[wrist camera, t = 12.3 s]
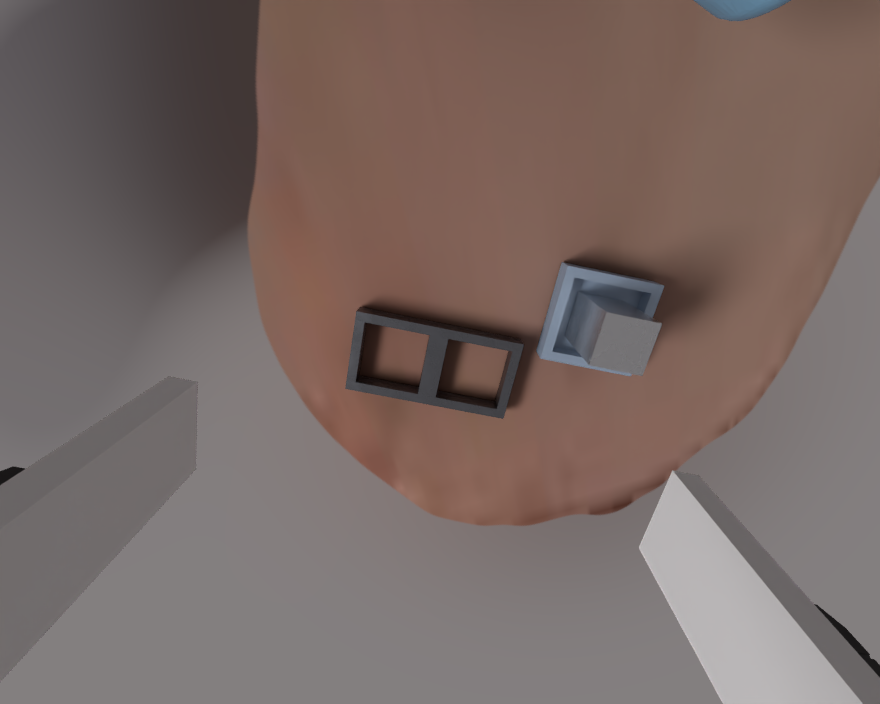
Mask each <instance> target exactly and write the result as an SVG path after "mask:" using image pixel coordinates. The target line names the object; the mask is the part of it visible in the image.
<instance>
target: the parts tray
mask: <svg viewBox="0 0 880 704" xmlns="http://www.w3.org/2000/svg"><path fill="white" fill-rule="evenodd" d="M663 289H664V285H661V284H659V283H657V282H654V281H650V280H645V279H640V278H636V277H631V276H626V275H621V274H617V273H612V272H607V271H602V270H598V269H593V268H588V267H583V266H578V265H574V264H569V263H564V262H562V264H561V267H560V271H559V274H558V277H557V281H556V284H555V288H554V291H553V295H552V298H551V301H550V305H549V308H548V312H547V315H546V319H545V322H544V326H543V329H542V332H541V336H540V339H539V343H538V346H537V350H536V351H537V353H538V355H539V357H540V358H541V359H545V360H551V361H556V362H561V363H566V364H571V365H576V366H581V367H586V368H591V369H596V370H601V371H606V372H611V373H616V374H621V375H626V376H631V374H630V373H625V372H620V371H615V370H610V369H605V368H600V367H595V366H590V365H588V364H587V362H586V361H585V360H584V359H583V358H582V356H581V355H580V354H579V353H578V352H577V350H576V349H575V348H574V347H573V346H572V344H571V343H570V342H569V341H568V340H567V338H566V337H565V336H564V335H565V332H566V328H567V325H568V322H569V319H570V316H571V312H572V309H573V306H574V303H575V299H576V296H577V293H578V291H580V292H585V293H590V294H595V295H599V296H604V297H609V298H614V299H619V300H624V301H625V302H627V303H629V304H630V305H632V306H634V307H635V308H637V309H639V310H640V311H642V312H644V313H645V314H647V315H649V316H650V317H652V318H653V316H654V313H655V310H656V307H657V305H658V302H659V299H660V297H661V294H662V291H663Z"/></svg>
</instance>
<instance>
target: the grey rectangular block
mask: <svg viewBox="0 0 880 704" xmlns="http://www.w3.org/2000/svg"><path fill="white" fill-rule="evenodd" d="M661 326H662V323H660V322H659V321H657V320H655V319H654V318H652V317H650V316H649V315H647V314H645V313H644V312H642V311H640V310H639V309H637V308H635V307H634V306H632V305H630V304H629V303H627V302H625V301H624V300H619V299H614V298H609V297H604V296H599V295H595V294H590V293H585V292H580V291H578V293H577V296H576V299H575V303H574V306H573V309H572V312H571V316H570V319H569V322H568V325H567V328H566V332H565V335H564V336H565V337H566V338H567V340H568V341H569V342H570V343H571V344H572V346H573V347H574V348H575V349H576V350H577V352H578V353H579V354H580V355H581V356H582V358H583V359H584V360H585V361H586V362H587V364H588V365H590V366H595V367H600V368H605V369H610V370H615V371H620V372H625V373H630V374H635V375H640V376H642V375H643V373H644V370H645V367H646V365H647V362H648V360H649V357H650V354H651V352H652V349H653V347H654V344H655V341H656V339H657V336H658V333H659V331H660V328H661Z"/></svg>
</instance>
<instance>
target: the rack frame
mask: <svg viewBox="0 0 880 704" xmlns="http://www.w3.org/2000/svg"><path fill="white" fill-rule="evenodd" d="M367 323H371V324H376V325H381V326H386V327H391V328H396V329H401V330H406V331H411V332H416V333H422V334H427V335H429V340H428V345H427V350H426V355H425V360H424V365H423V370H422V375H421V379H420V384H419V387H417V386H412V385H407V384H401V383H396V382H391V381H386V380H381V379H375V378H370V377H365V376H360V375H359V372H360V365H361V359H362V352H363V346H364V339H365V332H366V326H367ZM448 339H452V340H457V341H462V342H467V343H472V344H477V345H482V346H487V347H492V348H497V349H502V350H507V351H508V355H507V359H506V362H505V366H504V370H503V374H502V377H501V381H500V385H499V388H498V392H497V396H496V400H495V401H490V400H485V399H479V398H474V397H469V396H464V395H459V394H453V393H448V392H443V391H438V390H437V389H438V384H439V379H440V375H441V370H442V366H443V361H444V357H445V352H446V347H447V343H448ZM523 346H524V344H523V342H522V340H521V339H519V338H514V337H509V336H504V335H499V334H494V333H489V332H484V331H479V330H474V329H469V328H464V327H459V326H454V325H449V324H444V323H439V322H434V321H429V320H424V319H419V318H414V317H409V316H404V315H399V314H394V313H389V312H384V311H379V310H374V309H369V308H364V307H359V309H358V310H357V311H356V318H355V325H354V332H353V339H352V346H351V353H350V360H349V367H348V374H347V381H346V388H345V389H350V390H355V391H360V392H366V393H371V394H376V395H381V396H387V397H392V398H397V399H402V400H408V401H413V402H418V403H423V404H429V405H434V406H439V407H444V408H450V409H455V410H460V411H465V412H471V413H476V414H481V415H486V416H492V417H497V418H502V419H503V418H504V414H505V411H506V407H507V404H508V400H509V396H510V393H511V389H512V386H513V382H514V379H515V375H516V371H517V368H518V364H519V361H520V357H521V353H522V350H523Z"/></svg>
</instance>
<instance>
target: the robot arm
mask: <svg viewBox="0 0 880 704" xmlns="http://www.w3.org/2000/svg"><path fill="white" fill-rule="evenodd" d="M694 1H695V2H696V3H698V4H699V5H700V6H702V7H703V8H704V9H706V10H707V11H708V12H710V13H711V14H712V15H714V16H715V17H717V18H719V19H725V20H729V21H743V20H748V19H751V18H755V17H758V16H761V15H763V14H766V13H768V12H770V11H772V10H774V9H776V8H778V7H780V6H782V5H784V4H786V3H787V2H789V1H791V0H694ZM197 393H198V382H196V381H191V380H185V379H180V378H175V377H167V378H165V379H164V380H162V381H160V382H159V383H157V384H156V385H154V386H153V387H151V388H150V389H148V390H147V391H145V392H143V393H142V394H140V395H139V396H137V397H136V398H134V399H133V400H131V401H130V402H128V403H126V404H125V405H123V406H122V407H120V408H119V409H117V410H116V411H114V412H113V413H111V414H110V415H108V416H107V417H105V418H103V419H102V420H100V421H99V422H97V423H96V424H94V425H93V426H91V427H89V428H88V429H86V430H85V431H83V432H82V433H80V434H79V435H77V436H76V437H74V438H72V439H71V440H70V441H68V442H66V443H65V444H63V445H62V446H60V447H59V448H57V449H56V450H54V451H52V452H51V453H49V454H48V455H46V456H45V457H43V458H42V459H40V460H39V461H37V462H35V463H34V464H32V465H31V466H29V467H28V468H26V469H24V468H19V467H10V468H8V469H5V470H3V471H0V682H1V680H3V679H4V677H5V676H6V675H7V674H8V673H9V672H10V671H11V670H12V669H13V667H15V665H16V664H17V663H18V662H19V661H20V660H21V659H22V658H23V657H24V656H25V654H26V653H27V652H28V651H29V650H30V649H31V648H32V647H33V646H34V645H35V644H36V643H37V641H38V640H39V639H40V638H41V637H42V636H43V635H44V634H45V633H46V632H47V631H48V629H50V627H51V626H52V625H53V624H54V623H55V622H56V621H57V620H58V619H59V618H60V617H61V615H62V614H63V613H64V612H65V611H66V610H67V609H68V608H69V607H70V606H71V605H72V603H73V602H74V601H75V600H76V599H77V598H78V597H79V596H80V595H81V594H82V593H83V592H84V590H85V589H86V588H87V587H88V586H89V585H90V584H91V583H92V582H93V581H94V580H95V578H96V577H97V576H98V575H99V574H100V573H101V572H102V571H103V570H104V569H105V568H106V566H107V565H108V564H109V563H110V562H111V561H112V560H113V559H114V558H115V557H116V556H117V555H118V553H119V552H120V551H121V550H122V549H123V548H124V547H125V546H126V545H127V544H128V543H129V542H130V540H131V539H132V538H133V537H134V536H135V535H136V534H137V533H138V532H139V531H140V529H141V528H142V527H143V526H144V525H145V524H146V523H147V522H148V521H149V520H150V518H152V516H153V515H154V514H155V513H156V512H157V511H158V510H159V509H160V508H161V507H162V505H164V503H165V502H166V501H167V500H168V499H169V498H170V497H171V496H172V495H173V494H174V492H175V491H176V490H177V489H178V488H179V487H180V486H181V485H182V484H183V483H184V482H185V481H186V480H187V478H188V477H189V476H190V475H191V474H192V473H193V472H194V471H195V470H196V439H197V437H196V436H197ZM639 549H640V551H641V553H642V555H643V557H644V559H645V560H646V562H647V564H648V566H649V568H650V570H651V572H652V573H653V575H654V577H655V579H656V581H657V583H658V584H659V586H660V588H661V590H662V592H663V594H664V595H665V597H666V599H667V601H668V603H669V605H670V607H671V609H672V610H673V612H674V614H675V616H676V618H677V619H678V621H679V623H680V625H681V627H682V629H683V631H684V633H685V634H686V636H687V638H688V639H689V642H690V644H691V646H692V647H693V649H694V651H695V653H696V655H697V656H698V658H699V660H700V662H701V664H702V666H703V668H704V669H705V671H706V673H707V675H708V677H709V679H710V681H711V683H712V684H713V686H714V688H715V690H716V692H717V694H718V695H719V697H720V699H721V701H722V703H723V704H880V665H879V664H878V663H877V662H876V661H875V660H874V659H871V658H870V656H869V655H870V654H869V653H868V652H867V651H866V650H865V649H864V647H863V646H861V644H860V643H859V642H858V641H857V640H856V639H855V638H854V637H853V636H852V634H851V633H850V632H849V631H848V630H847V629H846V628H845V627H844V626H842V625H841V624H840V623H839V622H837V621H836V620H835V619H834V618H832V617H831V616H830V615H829V614H827V613H826V612H825V611H824V610H823V609H821V608H820V607H819V606H818V605H815V604H813V602H812V601H810V599H809V598H808V597H807V596H806V595H805V594H804V593H803V591H802V590H801V589H800V588H799V587H798V586H797V585H796V584H795V583H794V581H793V580H792V579H791V578H790V577H789V576H788V575H787V573H786V572H785V571H784V570H783V569H782V568H781V567H780V566H779V564H777V562H776V561H775V560H774V559H773V558H772V557H771V556H770V554H769V553H768V552H767V551H766V550H765V549H764V548H763V547H762V546H761V544H760V543H759V542H758V541H757V540H756V539H755V538H754V537H753V535H752V534H751V533H750V532H749V531H748V530H747V529H746V528H745V527H744V525H743V524H742V523H741V522H740V521H739V520H738V519H737V518H736V516H734V514H733V513H732V512H731V511H730V510H729V509H728V508H727V506H726V505H725V504H724V503H723V502H722V501H721V500H720V499H719V497H718V496H717V495H716V494H715V493H714V492H713V491H712V490H711V489H710V487H709V486H708V485H707V484H706V483H705V482H704V481H703V480H702V479H701V477H700V476H698V475H694V474H688V473H683V472H678V471H672V473H671V475H670V477H669V480H668V482H667V484H666V487H665V489H664V491H663V494H662V496H661V498H660V500H659V503H658V505H657V507H656V509H655V512H654V514H653V516H652V519H651V521H650V523H649V525H648V528H647V530H646V532H645V535H644V537H643V539H642V541H641V544H640V546H639Z"/></svg>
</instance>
